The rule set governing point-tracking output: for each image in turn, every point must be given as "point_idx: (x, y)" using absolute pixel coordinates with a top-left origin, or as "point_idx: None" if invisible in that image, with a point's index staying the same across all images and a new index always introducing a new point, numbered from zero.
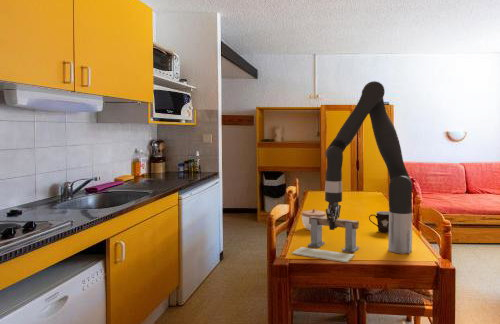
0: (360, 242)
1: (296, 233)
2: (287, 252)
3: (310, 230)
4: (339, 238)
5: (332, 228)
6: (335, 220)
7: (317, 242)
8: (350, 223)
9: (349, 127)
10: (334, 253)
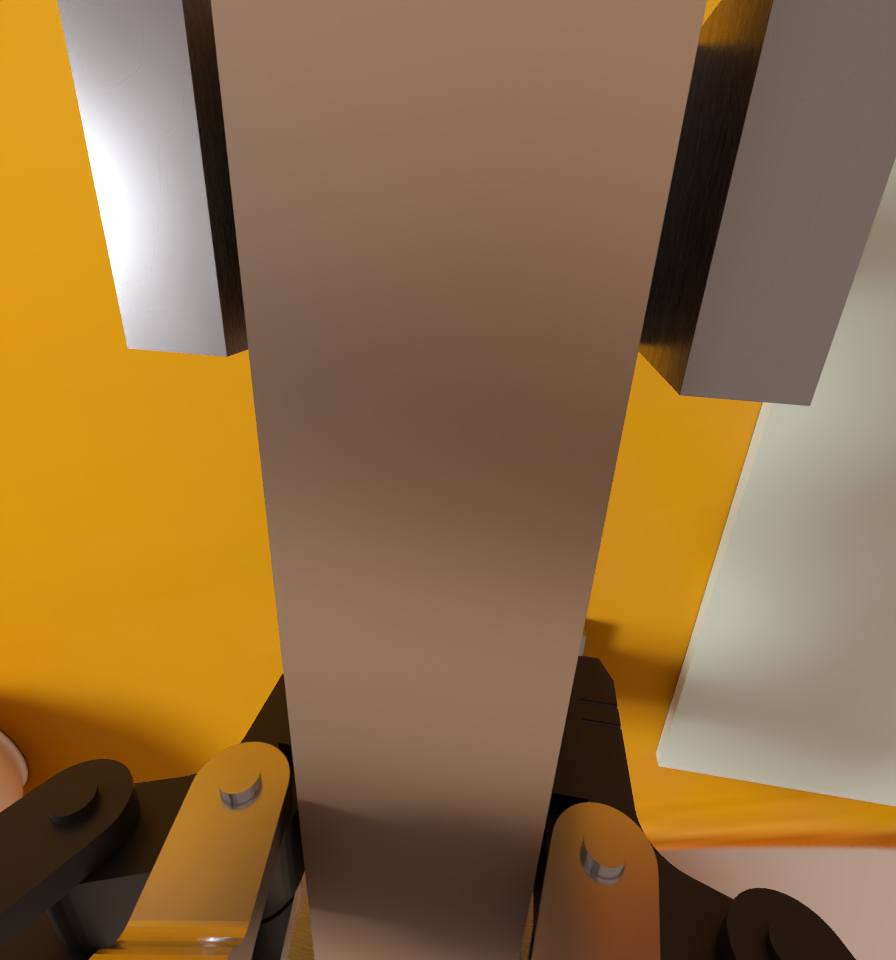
0: (60, 196)
1: None
2: (854, 831)
3: (26, 764)
4: (78, 492)
5: (601, 673)
6: (543, 813)
7: None
8: (885, 73)
9: None
10: (869, 392)
